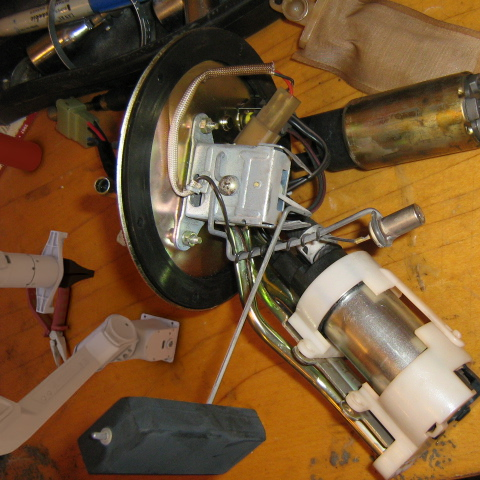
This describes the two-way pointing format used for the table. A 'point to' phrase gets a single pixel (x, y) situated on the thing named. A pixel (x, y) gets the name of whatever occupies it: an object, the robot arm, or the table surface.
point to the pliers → (55, 326)
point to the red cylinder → (19, 153)
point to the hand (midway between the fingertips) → (90, 273)
